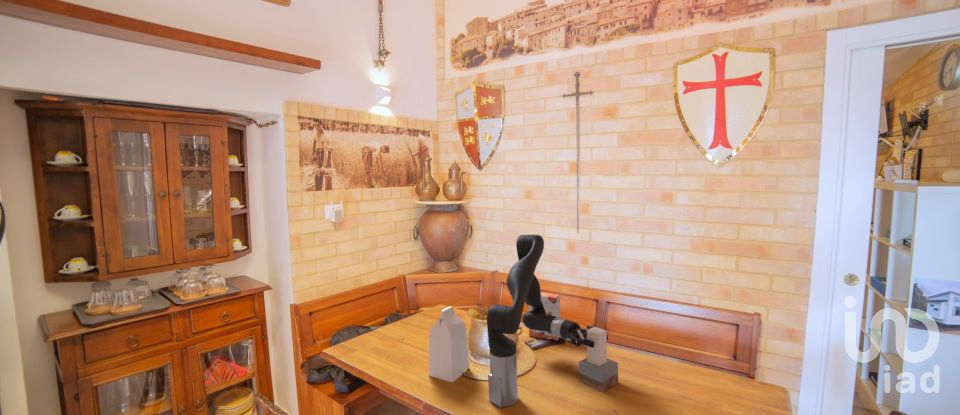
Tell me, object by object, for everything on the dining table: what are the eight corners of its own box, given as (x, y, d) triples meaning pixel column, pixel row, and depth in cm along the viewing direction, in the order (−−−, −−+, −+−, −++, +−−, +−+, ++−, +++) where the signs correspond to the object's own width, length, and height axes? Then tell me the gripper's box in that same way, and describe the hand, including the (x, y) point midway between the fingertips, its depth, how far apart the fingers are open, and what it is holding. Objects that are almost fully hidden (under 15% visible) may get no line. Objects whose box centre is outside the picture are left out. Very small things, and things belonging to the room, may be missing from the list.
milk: (446, 362, 164) (443, 302, 162) (469, 368, 158) (467, 306, 156) (428, 375, 154) (425, 311, 152) (452, 382, 148) (449, 315, 146)
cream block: (599, 366, 141) (598, 334, 140) (587, 361, 145) (586, 330, 144) (606, 362, 144) (606, 330, 143) (595, 357, 148) (594, 326, 147)
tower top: (602, 382, 138) (602, 371, 137) (578, 372, 145) (578, 362, 145) (617, 373, 144) (617, 362, 144) (594, 363, 152) (594, 353, 151)
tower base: (602, 393, 138) (602, 382, 138) (579, 382, 146) (579, 372, 145) (618, 383, 144) (618, 373, 144) (594, 373, 152) (594, 363, 152)
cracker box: (528, 336, 187) (527, 294, 186) (533, 332, 192) (532, 290, 191) (557, 341, 181) (556, 297, 179) (560, 336, 186) (560, 293, 184)
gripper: (553, 324, 150) (589, 337, 137) (576, 315, 159) (611, 326, 146) (553, 343, 151) (589, 357, 138) (576, 333, 160) (611, 345, 147)
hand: (600, 341), depth 142 cm, fingers open, 8 cm apart
